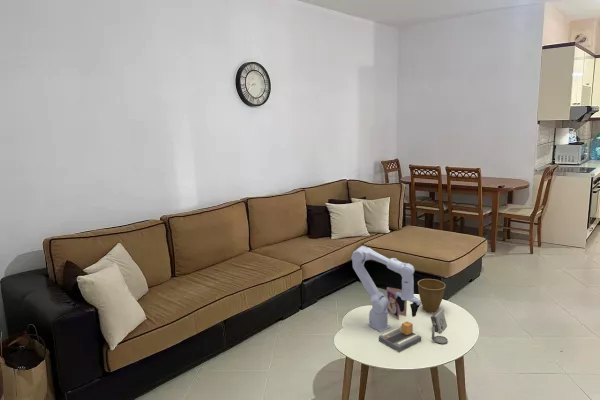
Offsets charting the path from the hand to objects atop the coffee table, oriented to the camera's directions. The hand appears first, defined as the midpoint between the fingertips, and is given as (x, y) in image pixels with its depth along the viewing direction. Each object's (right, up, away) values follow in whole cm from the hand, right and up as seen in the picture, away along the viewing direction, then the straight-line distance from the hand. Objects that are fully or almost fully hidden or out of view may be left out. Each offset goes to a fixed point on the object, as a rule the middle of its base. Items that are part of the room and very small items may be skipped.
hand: (408, 313), depth 218 cm
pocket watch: (+13, -12, -6) cm, 19 cm away
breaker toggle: (-1, -8, -4) cm, 9 cm away
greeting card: (-1, -7, +22) cm, 23 cm away
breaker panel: (-5, -12, -6) cm, 14 cm away
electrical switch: (+17, -9, +5) cm, 20 cm away
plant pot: (+19, -5, +26) cm, 33 cm away
